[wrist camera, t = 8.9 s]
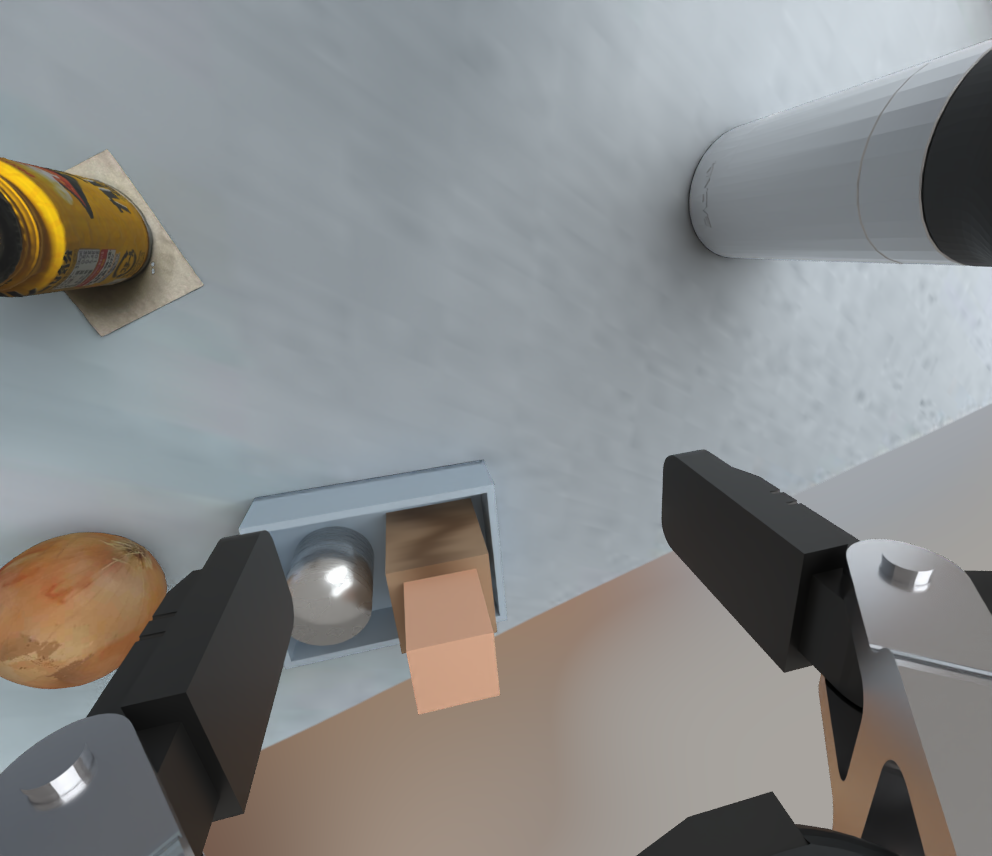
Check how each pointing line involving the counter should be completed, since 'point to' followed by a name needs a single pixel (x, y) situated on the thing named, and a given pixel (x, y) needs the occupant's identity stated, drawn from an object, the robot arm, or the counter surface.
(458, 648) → the peach rectangular block
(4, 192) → the condiment
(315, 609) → the grey tin
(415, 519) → the walnut block
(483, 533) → the tote
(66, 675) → the onion
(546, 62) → the counter surface
